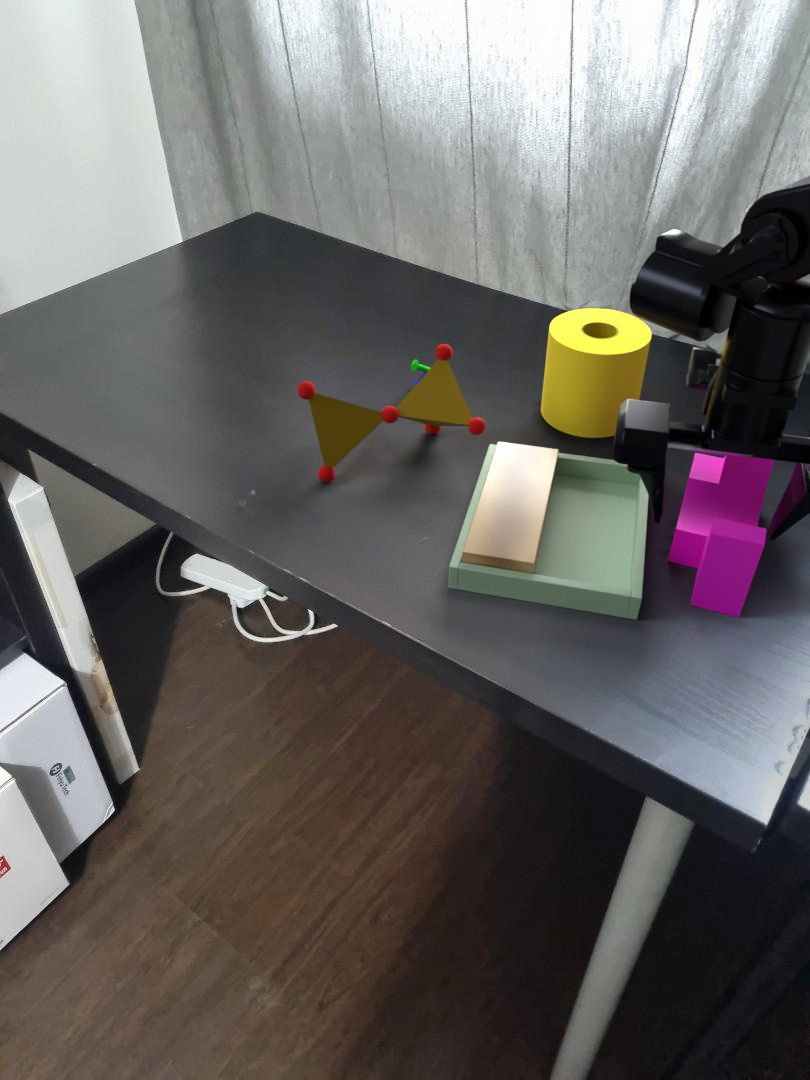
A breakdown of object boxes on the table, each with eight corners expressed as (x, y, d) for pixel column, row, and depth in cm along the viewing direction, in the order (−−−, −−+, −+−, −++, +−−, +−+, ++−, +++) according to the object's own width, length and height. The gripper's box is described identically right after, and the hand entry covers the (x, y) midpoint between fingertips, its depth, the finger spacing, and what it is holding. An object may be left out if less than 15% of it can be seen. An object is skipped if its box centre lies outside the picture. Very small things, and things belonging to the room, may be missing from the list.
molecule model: (273, 402, 88) (273, 312, 79) (430, 381, 94) (447, 294, 84) (311, 518, 80) (317, 433, 70) (481, 488, 85) (508, 405, 76)
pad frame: (646, 485, 78) (650, 464, 77) (636, 620, 65) (642, 598, 63) (488, 463, 81) (489, 443, 80) (448, 588, 68) (448, 566, 67)
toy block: (685, 492, 77) (702, 424, 73) (755, 507, 76) (777, 438, 71) (658, 596, 67) (676, 525, 62) (739, 617, 65) (764, 545, 60)
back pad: (555, 475, 79) (559, 449, 77) (531, 590, 67) (534, 563, 65) (496, 466, 80) (497, 441, 78) (461, 579, 68) (462, 551, 66)
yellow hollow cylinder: (650, 432, 85) (667, 349, 79) (556, 442, 84) (566, 358, 78) (616, 384, 93) (630, 304, 87) (529, 392, 92) (537, 312, 85)
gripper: (884, 326, 64) (820, 488, 74) (636, 302, 67) (608, 460, 78) (912, 399, 55) (836, 570, 66) (628, 368, 59) (598, 534, 69)
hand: (713, 528), depth 70 cm, fingers open, 9 cm apart
